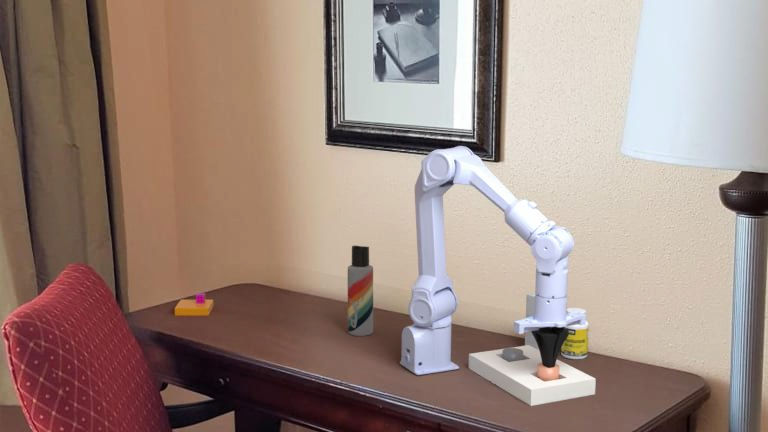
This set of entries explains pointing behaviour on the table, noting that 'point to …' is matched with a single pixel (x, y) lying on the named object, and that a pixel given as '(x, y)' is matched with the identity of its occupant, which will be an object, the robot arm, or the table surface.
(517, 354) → the button far
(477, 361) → the white board with holes
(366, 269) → the lotion bottle
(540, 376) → the button near
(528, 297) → the skincare box
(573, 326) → the supplement bottle
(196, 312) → the yellow slab with magenta
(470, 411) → the table surface
